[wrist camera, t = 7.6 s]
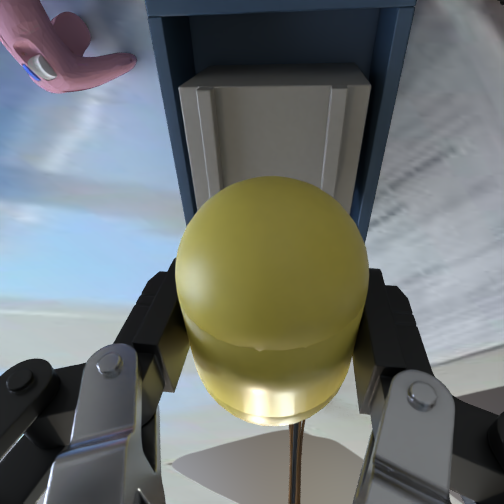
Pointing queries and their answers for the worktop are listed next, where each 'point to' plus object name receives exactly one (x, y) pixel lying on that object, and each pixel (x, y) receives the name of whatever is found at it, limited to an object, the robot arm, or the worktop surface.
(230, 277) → the yellow capsule
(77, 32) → the video game controller
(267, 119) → the block
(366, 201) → the crate
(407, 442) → the robot arm
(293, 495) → the wooden tabletop sculpture
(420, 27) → the worktop surface
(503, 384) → the worktop surface
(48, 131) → the worktop surface
